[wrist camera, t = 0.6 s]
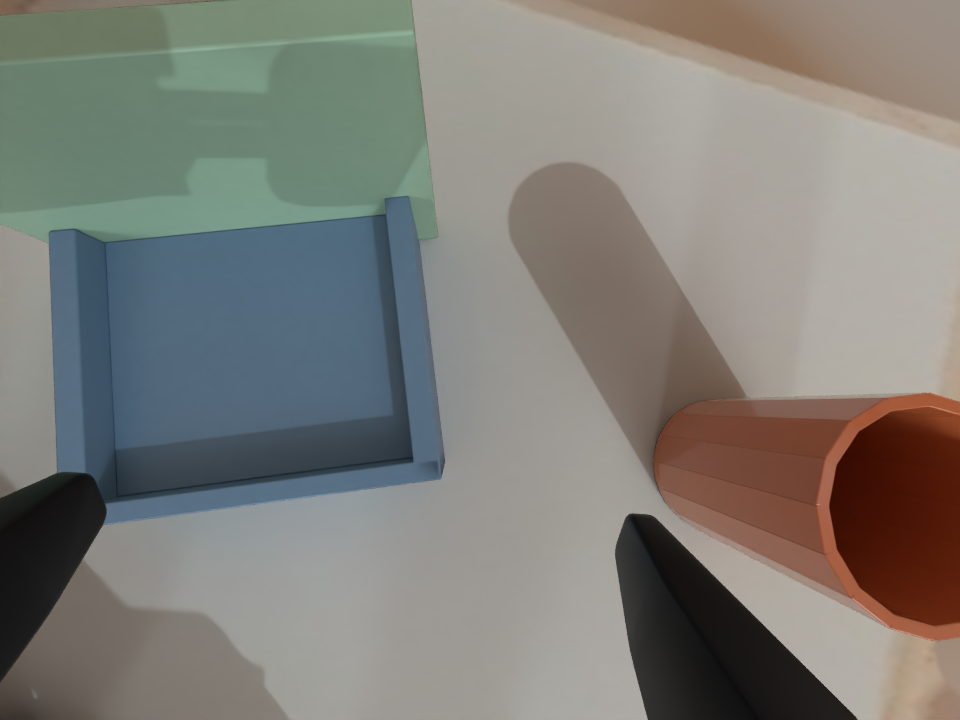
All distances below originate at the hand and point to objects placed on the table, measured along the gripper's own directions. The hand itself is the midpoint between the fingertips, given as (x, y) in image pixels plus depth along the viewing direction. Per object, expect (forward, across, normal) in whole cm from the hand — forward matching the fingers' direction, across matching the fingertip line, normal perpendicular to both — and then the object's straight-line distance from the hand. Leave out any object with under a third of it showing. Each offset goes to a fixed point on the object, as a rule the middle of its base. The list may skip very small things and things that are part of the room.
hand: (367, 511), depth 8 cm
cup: (+12, -15, +8) cm, 21 cm away
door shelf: (+14, +7, +6) cm, 17 cm away
